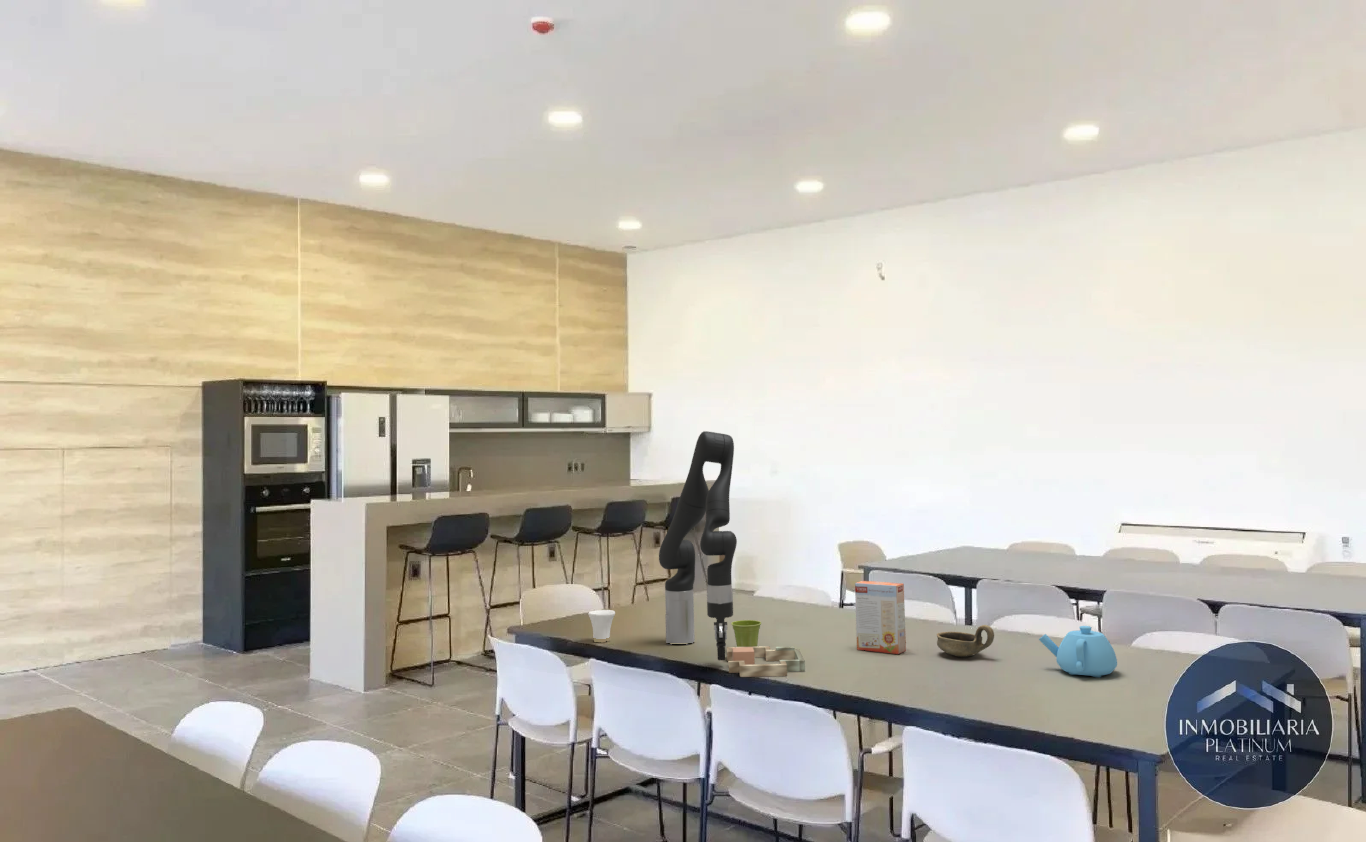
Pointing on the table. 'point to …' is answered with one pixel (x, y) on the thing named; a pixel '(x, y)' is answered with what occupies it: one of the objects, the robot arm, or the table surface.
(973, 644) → the bowl
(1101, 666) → the teapot
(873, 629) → the cracker box
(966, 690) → the table surface
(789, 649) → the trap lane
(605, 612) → the cup
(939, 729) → the table surface
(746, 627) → the plant pot
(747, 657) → the block
